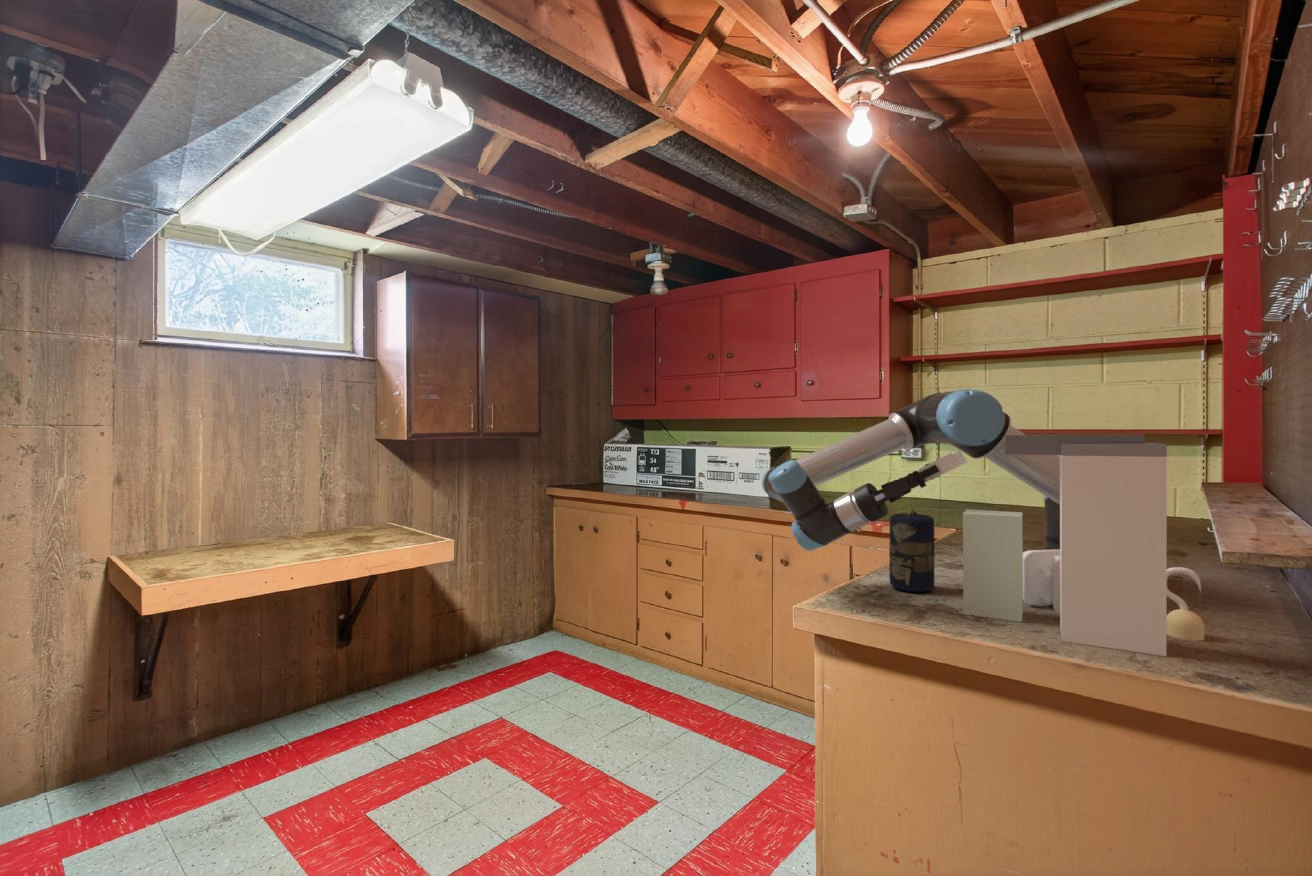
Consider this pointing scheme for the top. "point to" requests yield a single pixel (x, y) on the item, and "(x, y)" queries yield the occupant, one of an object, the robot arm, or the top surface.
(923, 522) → the canister
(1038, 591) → the cable organizer
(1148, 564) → the socket tower
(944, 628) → the top surface
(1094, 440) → the bar
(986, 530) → the shelf
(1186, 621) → the hook
